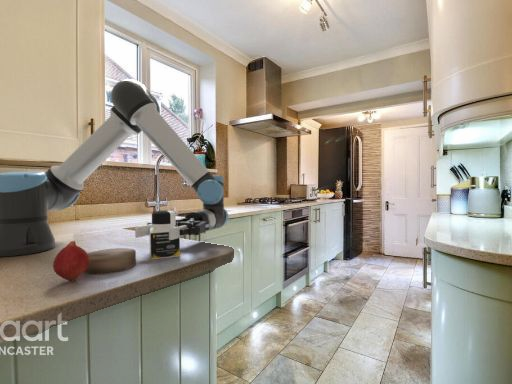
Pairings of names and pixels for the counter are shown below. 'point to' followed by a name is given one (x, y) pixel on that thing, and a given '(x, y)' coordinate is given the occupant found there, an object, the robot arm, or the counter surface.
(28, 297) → the counter surface
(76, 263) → the onion
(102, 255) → the walnut stand
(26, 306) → the counter surface
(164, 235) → the medicine bottle
